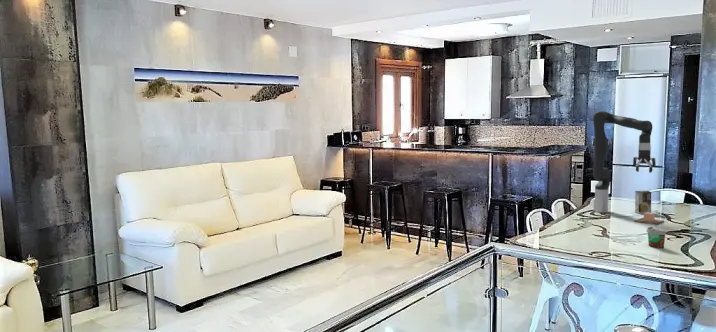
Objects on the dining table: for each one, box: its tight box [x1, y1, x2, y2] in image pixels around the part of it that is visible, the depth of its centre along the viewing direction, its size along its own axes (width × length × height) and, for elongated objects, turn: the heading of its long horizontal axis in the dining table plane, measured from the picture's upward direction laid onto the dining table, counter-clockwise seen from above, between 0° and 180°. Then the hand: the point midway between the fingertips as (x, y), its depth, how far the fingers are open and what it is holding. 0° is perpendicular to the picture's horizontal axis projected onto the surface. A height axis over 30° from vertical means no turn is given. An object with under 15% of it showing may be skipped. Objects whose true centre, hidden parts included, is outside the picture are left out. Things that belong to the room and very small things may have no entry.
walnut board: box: [634, 217, 665, 226], centre depth 363 cm, size 14×12×1 cm
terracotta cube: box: [643, 212, 656, 222], centre depth 363 cm, size 5×5×5 cm
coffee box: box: [634, 190, 652, 215], centre depth 393 cm, size 9×6×16 cm
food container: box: [646, 226, 667, 249], centre depth 302 cm, size 12×6×10 cm, turn 5°
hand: (644, 172), depth 377 cm, fingers open, 8 cm apart
